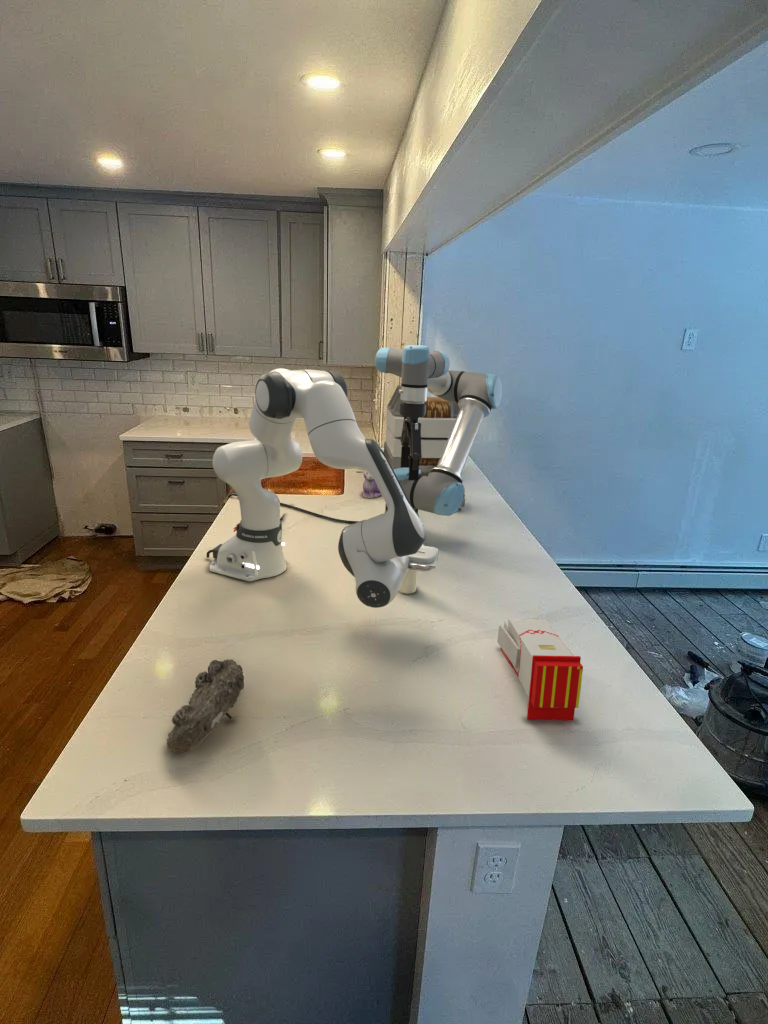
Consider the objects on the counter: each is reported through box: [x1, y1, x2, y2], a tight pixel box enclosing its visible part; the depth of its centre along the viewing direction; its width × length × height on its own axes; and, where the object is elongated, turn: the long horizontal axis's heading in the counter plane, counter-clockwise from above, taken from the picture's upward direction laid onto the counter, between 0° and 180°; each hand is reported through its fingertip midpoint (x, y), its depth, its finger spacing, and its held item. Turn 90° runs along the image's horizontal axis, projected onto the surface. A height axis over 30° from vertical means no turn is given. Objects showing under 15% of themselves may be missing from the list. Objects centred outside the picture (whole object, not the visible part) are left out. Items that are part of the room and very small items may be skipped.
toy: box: [497, 618, 584, 722], centre depth 122 cm, size 12×13×30 cm
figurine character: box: [458, 494, 466, 511], centre depth 229 cm, size 7×8×15 cm
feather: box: [280, 513, 286, 523], centre depth 210 cm, size 2×28×2 cm
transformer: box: [383, 384, 460, 469], centre depth 268 cm, size 34×33×41 cm
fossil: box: [166, 658, 245, 754], centre depth 106 cm, size 22×10×15 cm
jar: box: [399, 569, 418, 594], centre depth 158 cm, size 5×5×18 cm
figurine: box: [361, 470, 382, 499], centre depth 237 cm, size 9×10×15 cm
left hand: (401, 541), depth 143 cm, fingers open, 8 cm apart
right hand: (408, 473), depth 169 cm, fingers open, 13 cm apart
